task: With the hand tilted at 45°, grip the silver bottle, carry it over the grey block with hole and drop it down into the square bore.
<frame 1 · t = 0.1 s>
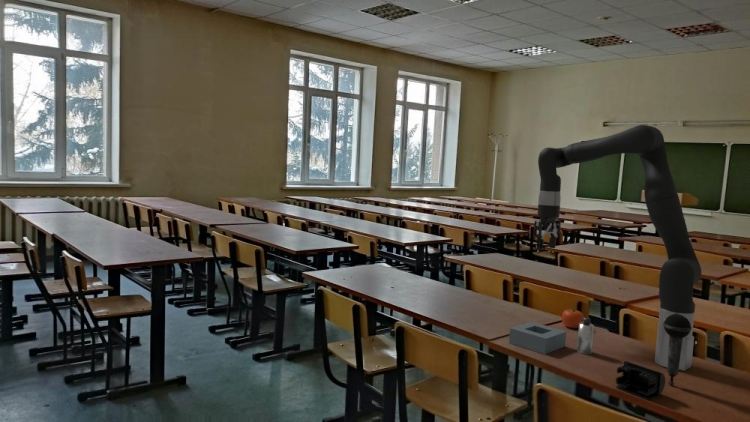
hand: (546, 248, 197), 29 cm above the table, tool pointing down, fingers open, 8 cm apart
pumpkin: (571, 327, 202), on the table
silver bottle: (584, 352, 175), on the table
end cap: (638, 392, 145), on the table
microphone: (671, 386, 151), on the table
grey block with hole: (537, 344, 180), on the table
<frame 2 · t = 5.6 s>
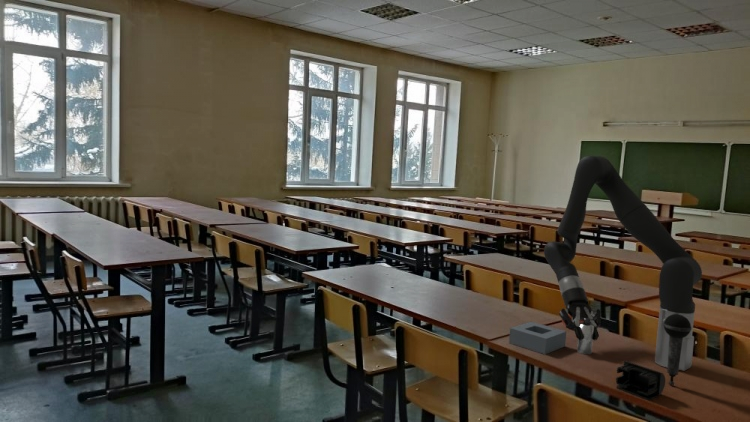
hand: (588, 339, 173), 5 cm above the table, tool tilted 45°, fingers closed on silver bottle, 4 cm apart
silver bottle: (584, 351, 175), on the table, touching gripper
everything else where it was.
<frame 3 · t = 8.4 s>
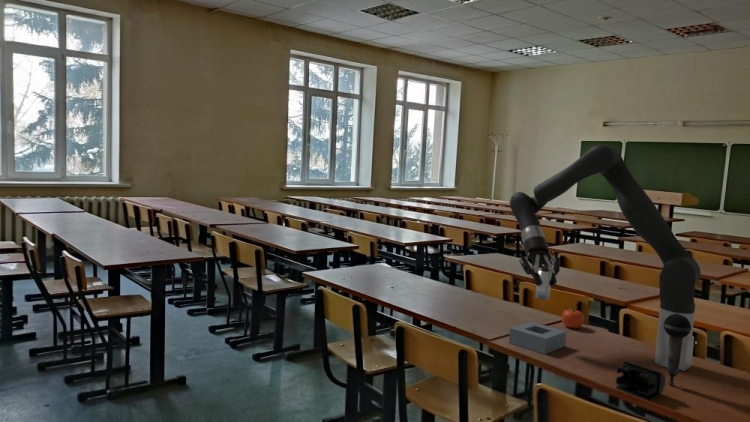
hand: (546, 284, 177), 21 cm above the table, tool tilted 45°, fingers closed on silver bottle, 4 cm apart
silver bottle: (542, 297, 179), point 16 cm above the table, touching gripper
everything else where it was.
when the fingers open (7 cm above the table, at t = 11.1 s): silver bottle drops 2 cm, resting in grey block with hole.
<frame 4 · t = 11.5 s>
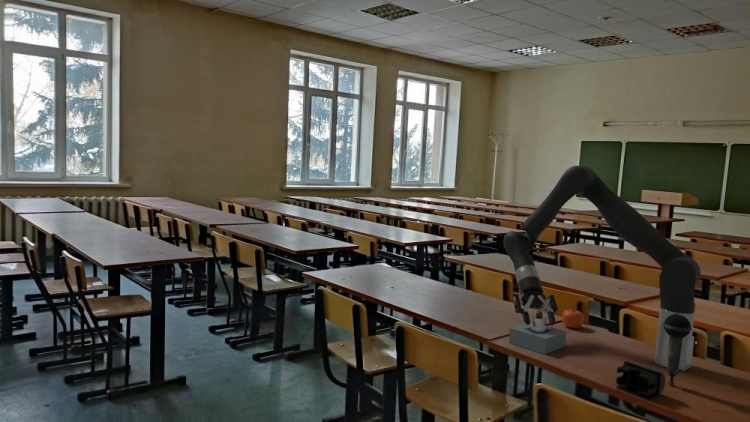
hand: (540, 323, 178), 7 cm above the table, tool tilted 45°, fingers open, 8 cm apart
silver bottle: (537, 344, 180), resting in grey block with hole
everything else where it was.
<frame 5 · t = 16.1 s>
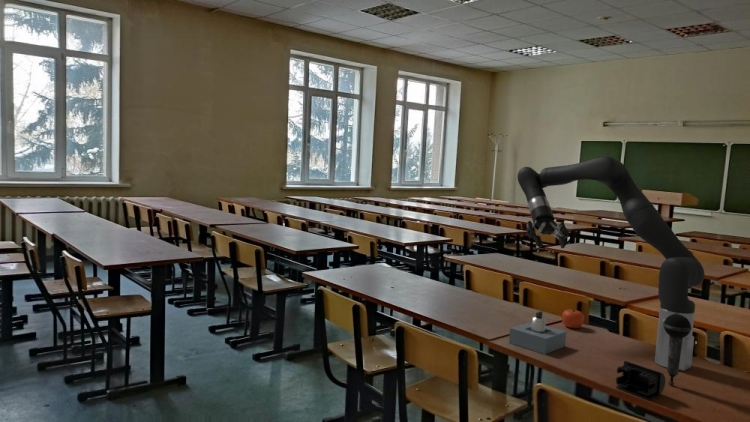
hand: (552, 246, 192), 31 cm above the table, tool tilted 45°, fingers open, 8 cm apart
nothing on the table moved.
at the end: silver bottle 0.1 cm from the grey block with hole (horizontally); silver bottle resting in grey block with hole; silver bottle tilted 1° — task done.
